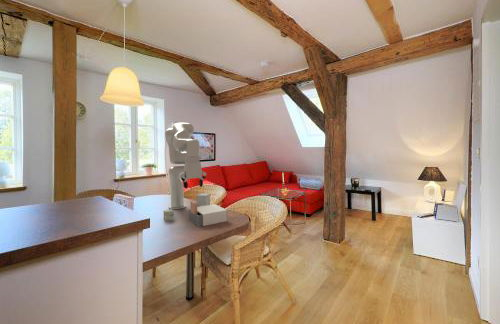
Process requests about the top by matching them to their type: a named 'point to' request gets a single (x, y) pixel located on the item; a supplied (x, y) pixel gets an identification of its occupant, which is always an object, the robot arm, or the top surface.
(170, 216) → the sage block
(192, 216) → the tray
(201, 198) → the supplement box
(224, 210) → the white drawer housing
